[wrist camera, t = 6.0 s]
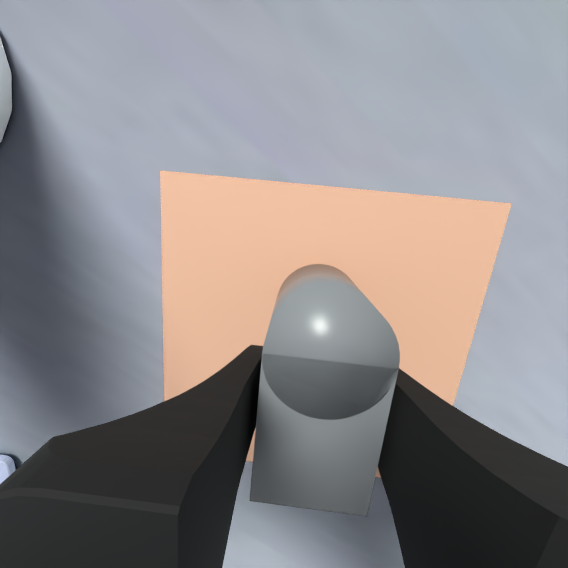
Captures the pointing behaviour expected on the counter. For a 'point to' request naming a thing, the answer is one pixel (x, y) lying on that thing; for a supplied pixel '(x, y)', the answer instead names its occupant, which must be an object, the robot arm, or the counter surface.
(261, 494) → the plug
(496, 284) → the counter surface
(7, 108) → the bottle
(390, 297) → the plate
